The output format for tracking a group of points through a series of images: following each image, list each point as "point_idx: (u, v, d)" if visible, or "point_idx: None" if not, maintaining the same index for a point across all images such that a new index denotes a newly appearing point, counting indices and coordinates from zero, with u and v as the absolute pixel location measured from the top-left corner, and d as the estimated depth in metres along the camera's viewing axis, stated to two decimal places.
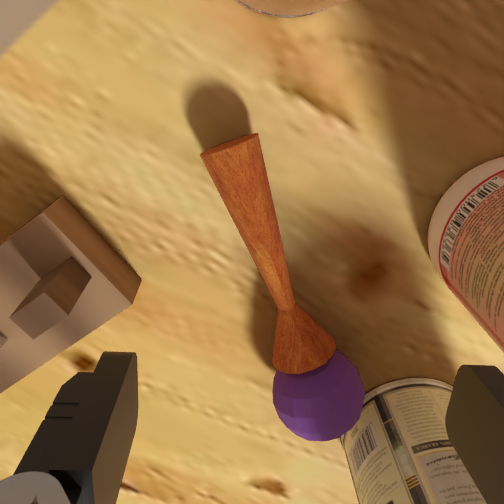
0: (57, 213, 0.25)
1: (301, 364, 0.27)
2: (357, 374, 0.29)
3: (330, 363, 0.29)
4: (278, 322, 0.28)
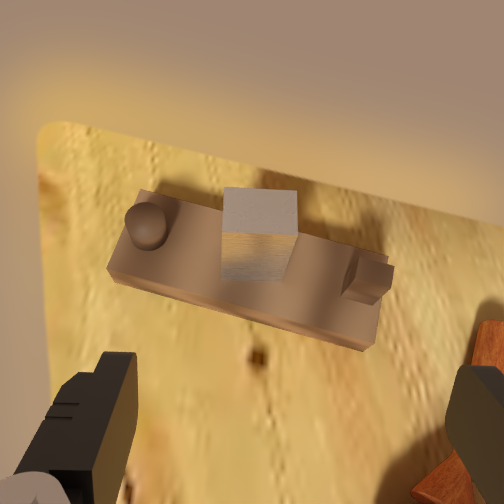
0: None
1: (456, 501, 0.28)
2: None
3: None
4: (447, 461, 0.30)
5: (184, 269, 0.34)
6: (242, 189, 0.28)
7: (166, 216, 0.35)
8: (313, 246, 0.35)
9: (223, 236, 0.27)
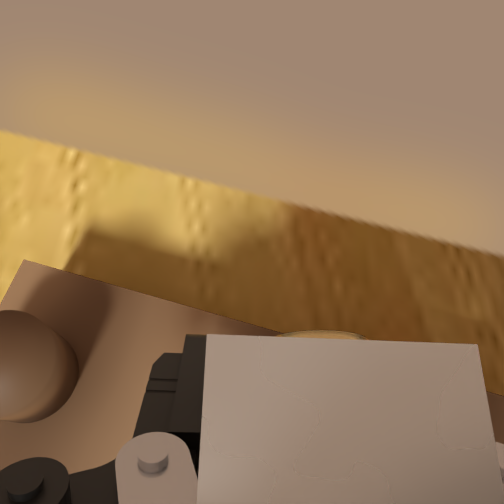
0: None
1: None
2: None
3: None
4: None
5: None
6: (276, 343, 0.07)
7: (78, 328, 0.15)
8: None
9: None
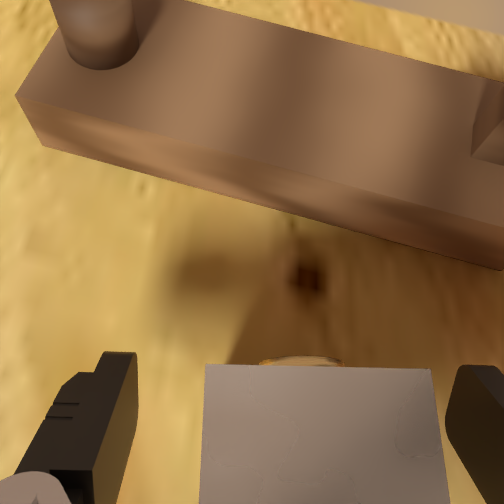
0: None
1: None
2: None
3: None
4: None
5: (169, 102, 0.17)
6: (263, 371, 0.09)
7: (136, 18, 0.19)
8: (410, 74, 0.19)
9: None
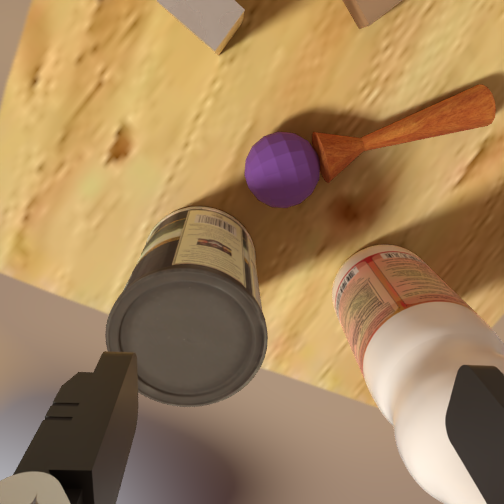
0: None
1: (332, 156, 0.35)
2: (302, 200, 0.38)
3: None
4: (352, 138, 0.36)
5: None
6: None
7: None
8: None
9: None
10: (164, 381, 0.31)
